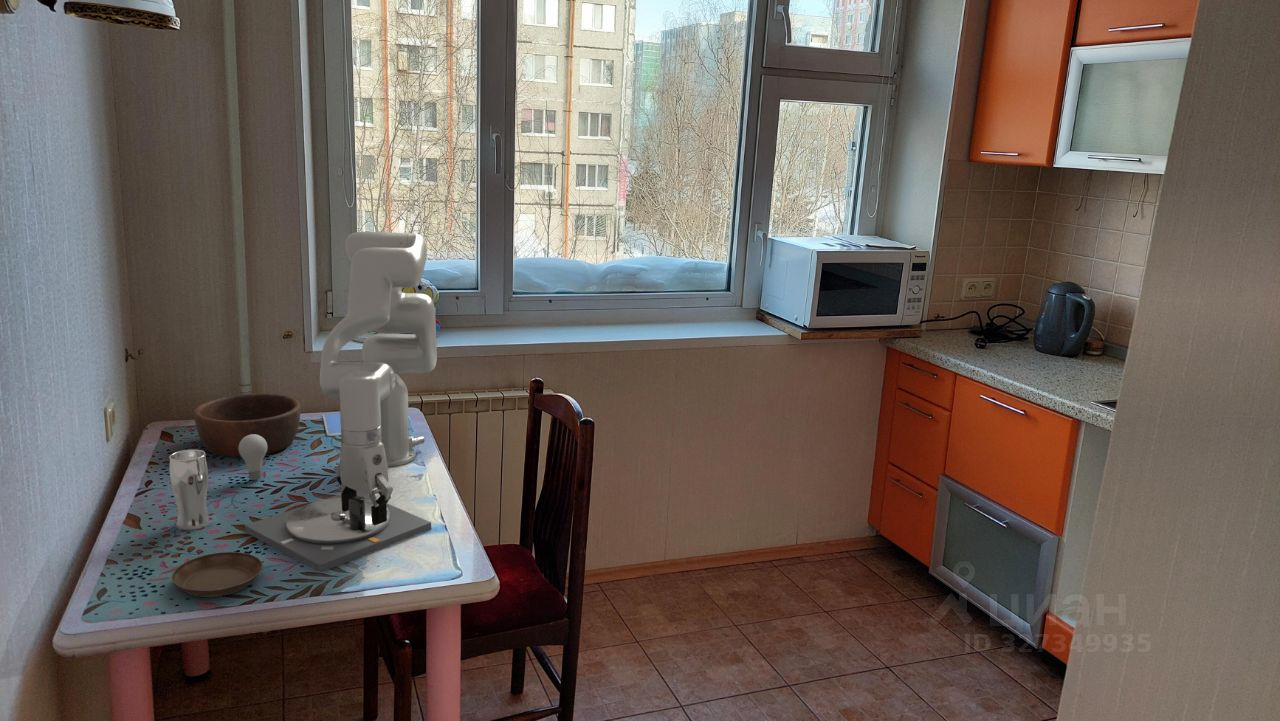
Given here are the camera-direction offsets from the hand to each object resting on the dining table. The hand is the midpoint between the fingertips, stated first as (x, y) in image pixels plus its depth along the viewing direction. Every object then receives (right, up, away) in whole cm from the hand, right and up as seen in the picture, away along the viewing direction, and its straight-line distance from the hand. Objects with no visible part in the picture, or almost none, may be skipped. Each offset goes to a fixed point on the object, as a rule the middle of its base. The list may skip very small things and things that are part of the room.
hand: (364, 516), depth 183 cm
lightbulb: (-34, +3, +28) cm, 44 cm away
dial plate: (-6, -4, +4) cm, 8 cm away
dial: (-6, -2, +4) cm, 8 cm away
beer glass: (-36, -3, +4) cm, 37 cm away
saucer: (-21, -9, -18) cm, 29 cm away
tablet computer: (-25, +13, +70) cm, 76 cm away
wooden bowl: (-45, +9, +51) cm, 69 cm away
